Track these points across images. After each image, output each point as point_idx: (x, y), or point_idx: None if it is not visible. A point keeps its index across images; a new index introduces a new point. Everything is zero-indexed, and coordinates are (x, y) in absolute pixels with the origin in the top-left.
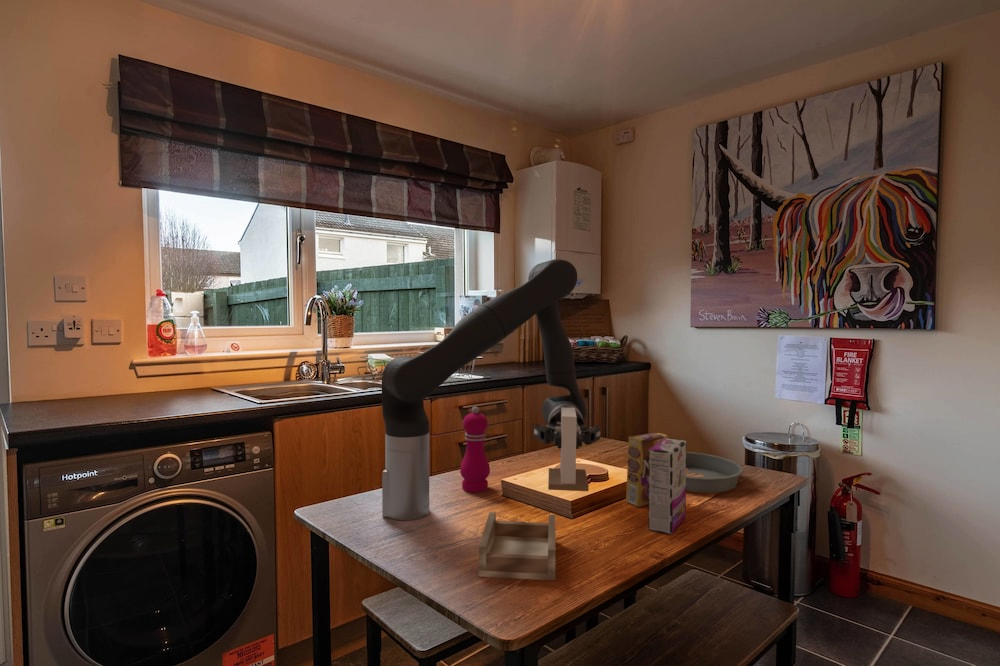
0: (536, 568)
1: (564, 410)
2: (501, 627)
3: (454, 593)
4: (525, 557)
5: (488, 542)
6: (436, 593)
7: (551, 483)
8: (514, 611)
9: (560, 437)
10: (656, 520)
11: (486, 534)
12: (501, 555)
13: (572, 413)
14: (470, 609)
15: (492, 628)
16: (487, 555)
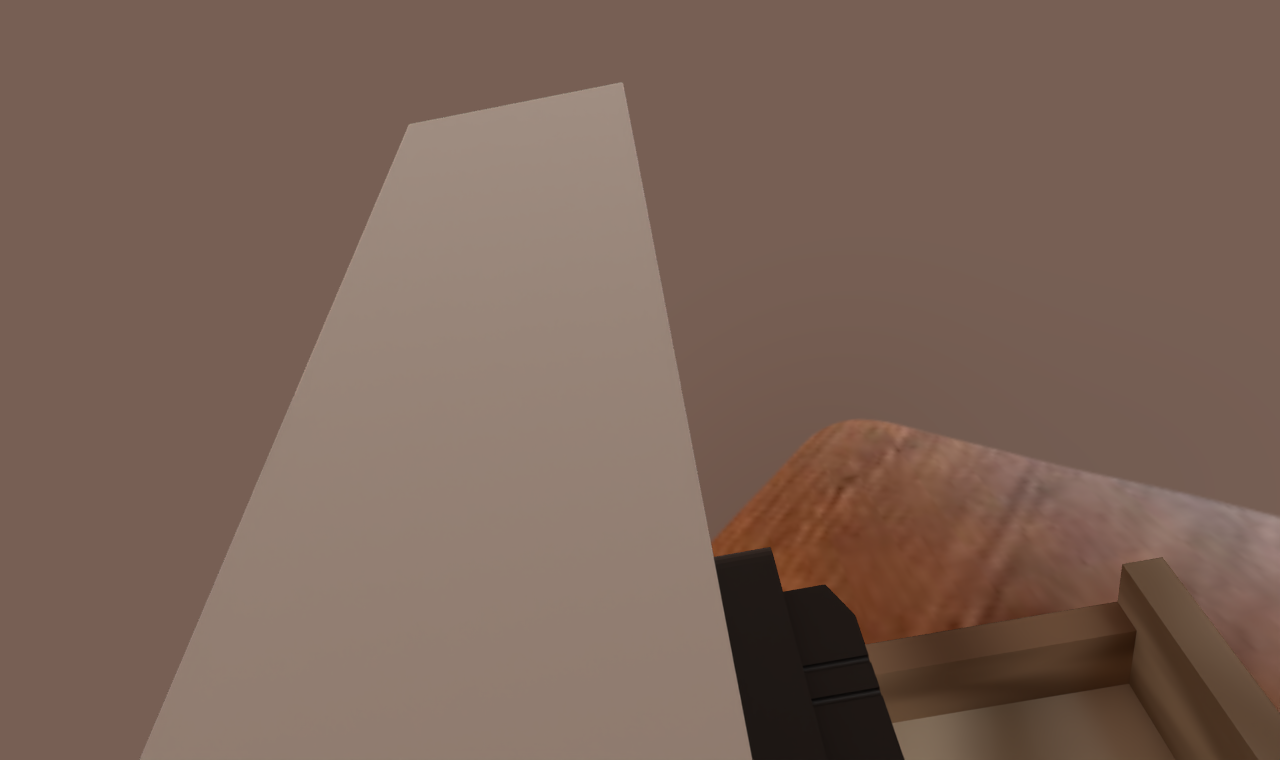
0: None
1: (590, 350)
2: (876, 443)
3: (1147, 537)
4: (914, 641)
5: (1180, 672)
6: (1215, 519)
7: None
8: (868, 510)
9: (728, 557)
10: None
11: (1232, 691)
12: (1045, 628)
13: (430, 219)
14: (1020, 481)
15: (900, 434)
16: (1116, 611)
